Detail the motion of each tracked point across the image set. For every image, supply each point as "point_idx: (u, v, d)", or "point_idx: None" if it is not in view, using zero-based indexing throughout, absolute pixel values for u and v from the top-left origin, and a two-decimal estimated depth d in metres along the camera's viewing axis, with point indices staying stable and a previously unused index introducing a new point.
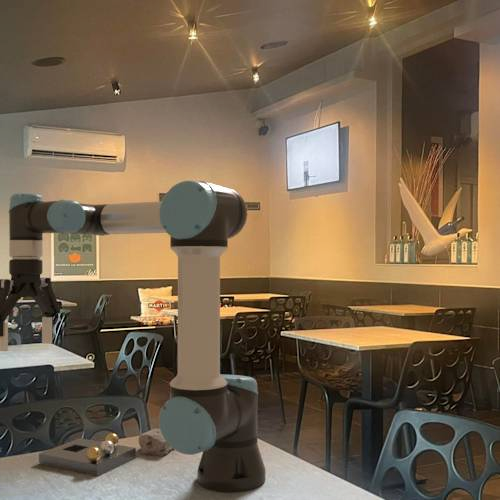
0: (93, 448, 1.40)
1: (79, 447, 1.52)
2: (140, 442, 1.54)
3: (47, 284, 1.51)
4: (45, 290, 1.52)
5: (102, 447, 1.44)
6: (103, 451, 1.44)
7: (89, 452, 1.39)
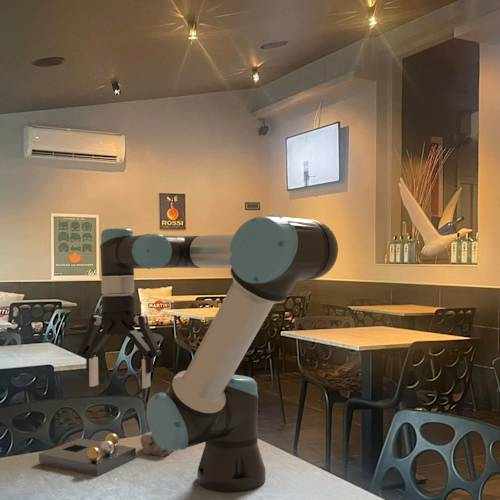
0: (93, 448, 1.40)
1: (79, 447, 1.52)
2: (142, 442, 1.53)
3: (138, 323, 1.40)
4: None
5: (102, 447, 1.44)
6: (103, 451, 1.44)
7: (89, 452, 1.39)
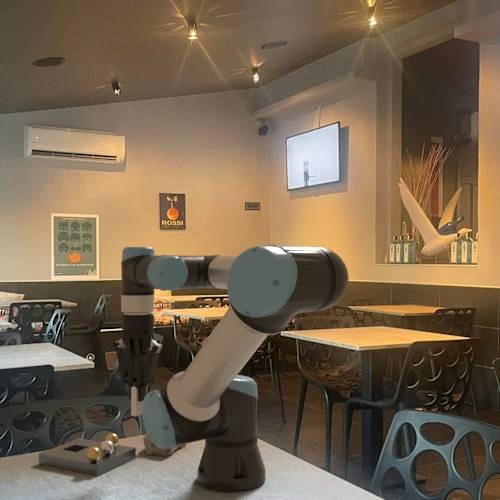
0: (93, 448, 1.40)
1: (79, 447, 1.52)
2: (145, 442, 1.53)
3: (150, 349, 1.39)
4: None
5: (102, 447, 1.44)
6: (103, 451, 1.44)
7: (89, 452, 1.39)
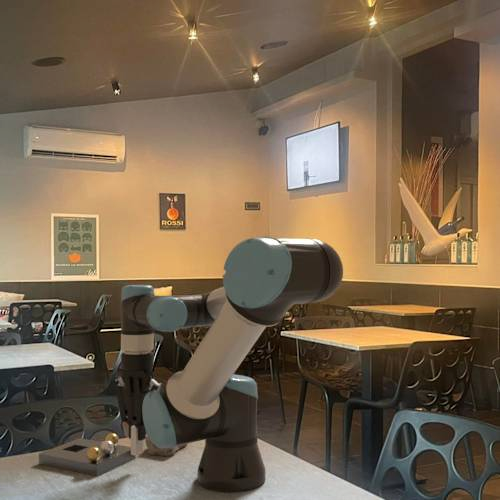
0: (93, 448, 1.40)
1: (79, 447, 1.52)
2: (147, 442, 1.53)
3: (150, 389, 1.39)
4: None
5: (102, 447, 1.44)
6: (103, 451, 1.44)
7: (89, 452, 1.39)
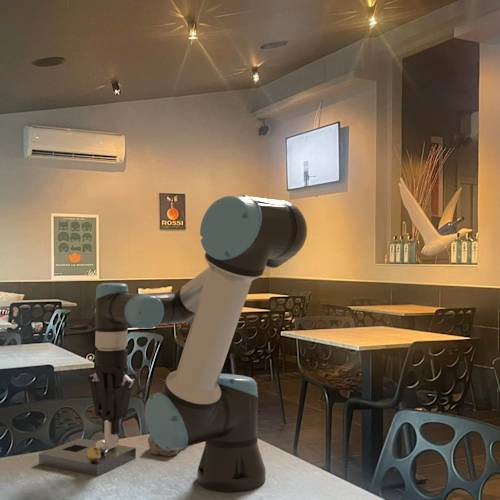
0: (93, 448, 1.40)
1: (79, 447, 1.52)
2: (150, 443, 1.53)
3: (123, 384, 1.42)
4: None
5: None
6: (99, 448, 1.45)
7: (89, 452, 1.39)
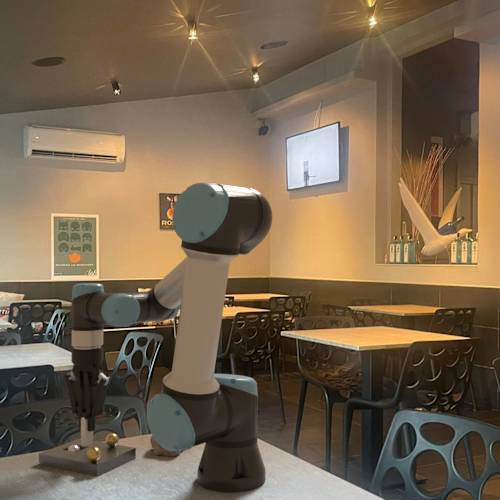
0: (93, 448, 1.40)
1: (79, 447, 1.52)
2: (152, 443, 1.53)
3: (98, 382, 1.45)
4: None
5: None
6: None
7: (89, 452, 1.39)
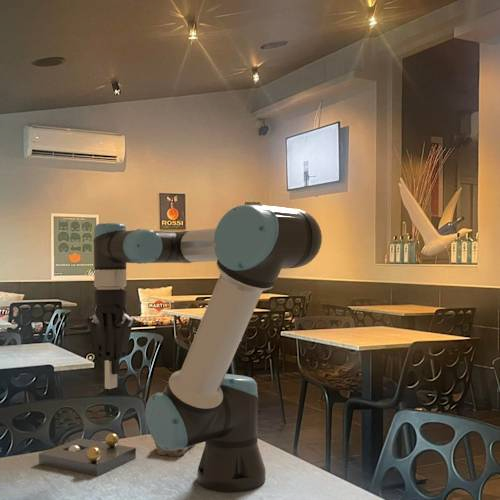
0: (93, 448, 1.40)
1: None
2: (156, 443, 1.53)
3: (123, 323, 1.42)
4: None
5: None
6: None
7: (89, 452, 1.39)
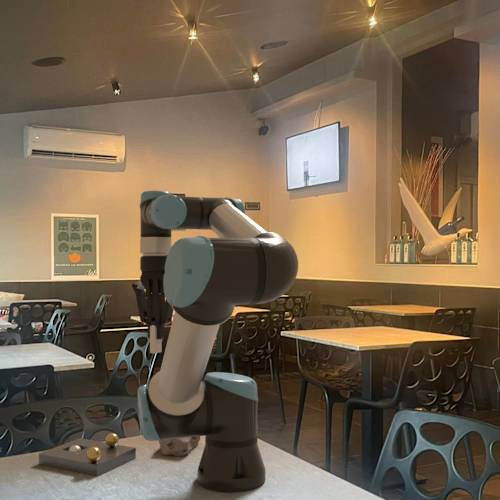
0: (93, 448, 1.40)
1: None
2: (161, 443, 1.53)
3: None
4: None
5: None
6: None
7: (89, 452, 1.39)
